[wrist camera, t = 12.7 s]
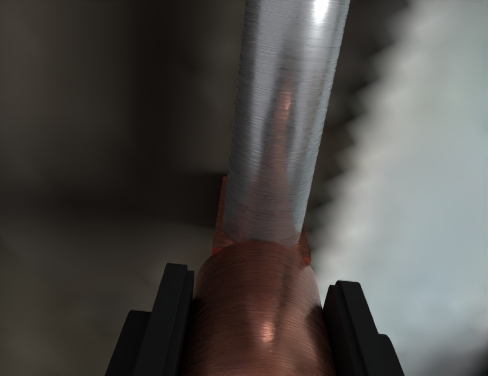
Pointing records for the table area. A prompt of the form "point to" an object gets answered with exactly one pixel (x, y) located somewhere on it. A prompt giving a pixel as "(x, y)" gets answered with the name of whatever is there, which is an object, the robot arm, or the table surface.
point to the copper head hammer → (269, 203)
